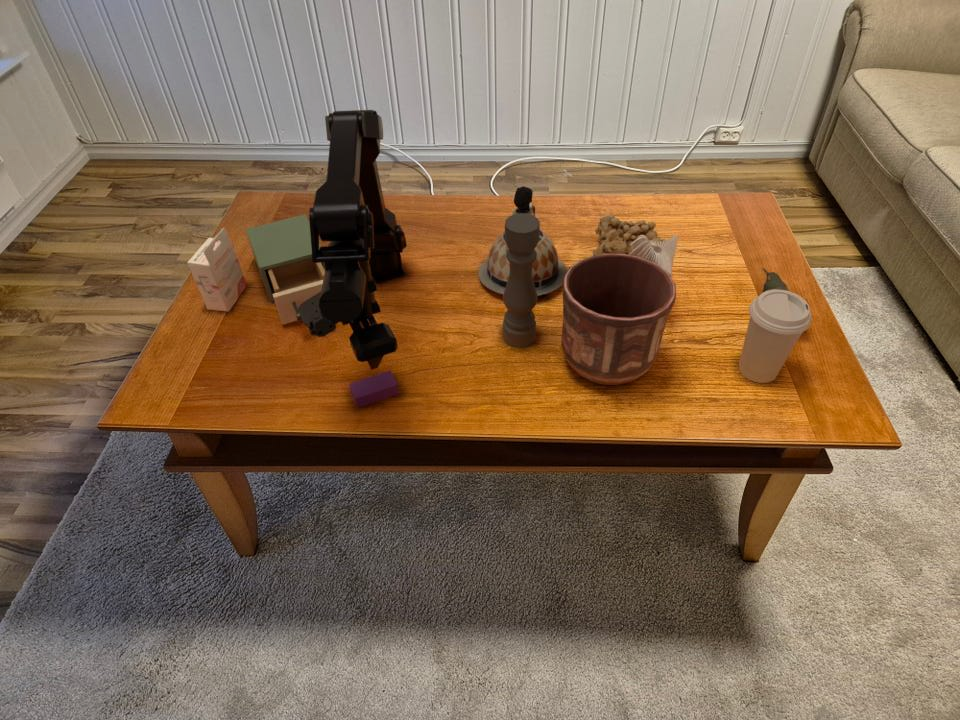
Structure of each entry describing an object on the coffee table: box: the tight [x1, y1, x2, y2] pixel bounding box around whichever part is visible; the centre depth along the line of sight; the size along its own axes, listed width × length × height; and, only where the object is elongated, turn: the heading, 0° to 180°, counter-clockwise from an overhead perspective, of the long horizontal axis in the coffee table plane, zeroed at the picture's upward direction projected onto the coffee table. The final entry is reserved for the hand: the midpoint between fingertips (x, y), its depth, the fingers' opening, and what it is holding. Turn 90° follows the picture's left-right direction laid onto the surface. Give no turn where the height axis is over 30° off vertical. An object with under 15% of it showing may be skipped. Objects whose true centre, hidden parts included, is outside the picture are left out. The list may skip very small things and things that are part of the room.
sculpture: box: [761, 267, 790, 293], centre depth 126 cm, size 5×19×5 cm, turn 3°
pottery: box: [560, 254, 677, 386], centre depth 112 cm, size 18×18×18 cm
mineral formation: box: [592, 213, 667, 259], centre depth 138 cm, size 8×13×15 cm
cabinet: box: [245, 214, 326, 303], centre depth 136 cm, size 15×13×9 cm
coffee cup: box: [738, 289, 812, 384], centre depth 111 cm, size 10×10×15 cm
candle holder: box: [502, 213, 541, 349], centre depth 115 cm, size 6×6×25 cm
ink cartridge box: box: [186, 227, 248, 313], centre depth 128 cm, size 9×5×15 cm, turn 168°
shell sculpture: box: [629, 234, 679, 279], centre depth 122 cm, size 8×8×18 cm
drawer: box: [267, 257, 325, 325], centre depth 128 cm, size 18×11×7 cm, turn 25°
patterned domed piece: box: [477, 185, 568, 299], centre depth 130 cm, size 18×18×20 cm
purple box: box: [348, 369, 400, 409], centre depth 113 cm, size 8×4×2 cm, turn 115°
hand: (366, 352), depth 107 cm, fingers open, 8 cm apart
